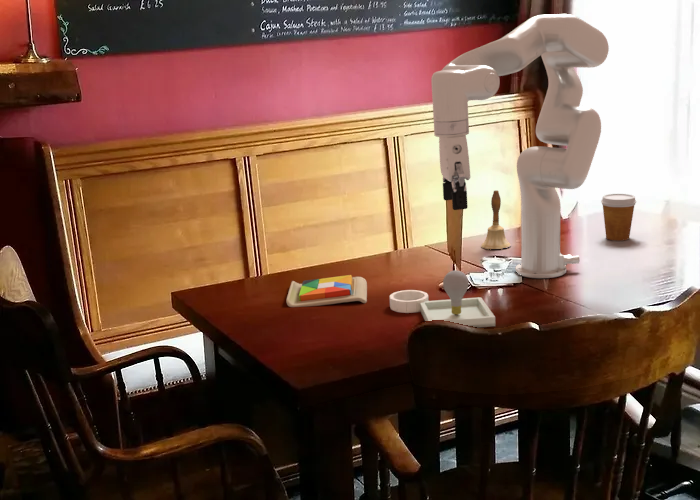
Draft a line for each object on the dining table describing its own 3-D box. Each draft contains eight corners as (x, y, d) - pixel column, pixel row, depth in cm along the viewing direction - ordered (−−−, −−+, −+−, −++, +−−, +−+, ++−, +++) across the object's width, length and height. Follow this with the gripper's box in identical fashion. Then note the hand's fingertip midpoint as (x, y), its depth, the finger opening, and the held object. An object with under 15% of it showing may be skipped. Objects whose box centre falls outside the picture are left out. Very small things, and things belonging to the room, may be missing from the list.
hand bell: (489, 241, 256) (488, 187, 252) (515, 244, 251) (515, 189, 247) (475, 248, 250) (474, 192, 246) (502, 251, 245) (502, 194, 241)
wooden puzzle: (292, 287, 224) (291, 274, 223) (367, 284, 223) (366, 270, 222) (286, 309, 207) (284, 295, 206) (366, 306, 206) (366, 291, 206)
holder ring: (425, 299, 207) (424, 288, 206) (430, 311, 199) (430, 300, 198) (388, 302, 206) (388, 291, 206) (392, 313, 198) (392, 302, 197)
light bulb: (468, 319, 190) (467, 274, 188) (442, 318, 191) (441, 274, 189) (470, 311, 195) (469, 267, 193) (445, 310, 196) (444, 267, 194)
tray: (481, 305, 200) (481, 297, 200) (495, 326, 187) (495, 317, 186) (419, 310, 200) (419, 301, 199) (429, 330, 186) (429, 321, 186)
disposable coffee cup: (639, 241, 248) (640, 199, 245) (605, 242, 248) (606, 200, 245) (629, 233, 257) (630, 192, 254) (596, 234, 257) (597, 194, 254)
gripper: (477, 131, 185) (481, 211, 190) (459, 121, 202) (463, 194, 206) (442, 135, 185) (446, 215, 189) (427, 124, 201) (431, 197, 206)
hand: (455, 204), depth 198 cm, fingers open, 9 cm apart
